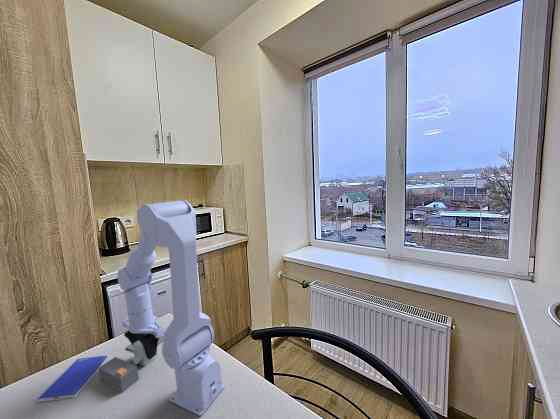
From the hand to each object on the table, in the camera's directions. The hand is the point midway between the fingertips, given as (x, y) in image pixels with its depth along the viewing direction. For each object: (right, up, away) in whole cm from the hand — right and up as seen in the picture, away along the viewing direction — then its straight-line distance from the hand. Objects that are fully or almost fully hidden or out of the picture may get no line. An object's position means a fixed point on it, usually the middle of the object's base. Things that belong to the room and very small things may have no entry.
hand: (146, 354), depth 67 cm
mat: (-4, -1, +7) cm, 8 cm away
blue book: (-15, -4, -5) cm, 16 cm away
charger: (0, -1, 0) cm, 1 cm away
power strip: (-3, -2, -6) cm, 8 cm away
